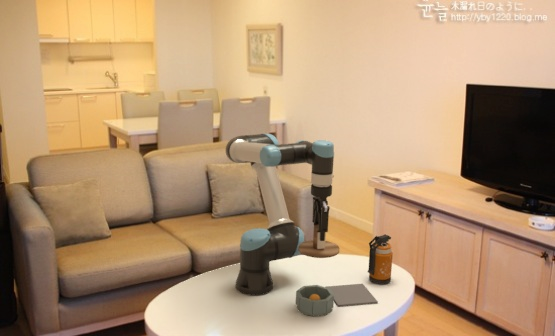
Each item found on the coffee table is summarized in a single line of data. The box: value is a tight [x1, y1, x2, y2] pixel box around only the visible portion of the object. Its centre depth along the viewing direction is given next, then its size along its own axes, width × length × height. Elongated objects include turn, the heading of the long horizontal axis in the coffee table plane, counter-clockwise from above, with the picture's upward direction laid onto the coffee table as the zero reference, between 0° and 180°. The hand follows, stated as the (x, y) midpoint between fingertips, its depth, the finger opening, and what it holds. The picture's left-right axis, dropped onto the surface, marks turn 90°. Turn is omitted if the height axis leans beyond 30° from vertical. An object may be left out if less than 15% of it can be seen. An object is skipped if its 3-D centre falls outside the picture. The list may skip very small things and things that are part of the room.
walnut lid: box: [298, 225, 340, 259], centre depth 205 cm, size 15×15×9 cm
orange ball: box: [309, 294, 321, 300], centre depth 210 cm, size 4×4×4 cm
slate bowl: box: [295, 284, 335, 317], centre depth 211 cm, size 13×13×6 cm
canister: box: [367, 234, 394, 285], centre depth 233 cm, size 9×11×20 cm
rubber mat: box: [325, 283, 379, 308], centre depth 221 cm, size 16×16×1 cm
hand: (319, 245), depth 206 cm, fingers closed on walnut lid, 4 cm apart
